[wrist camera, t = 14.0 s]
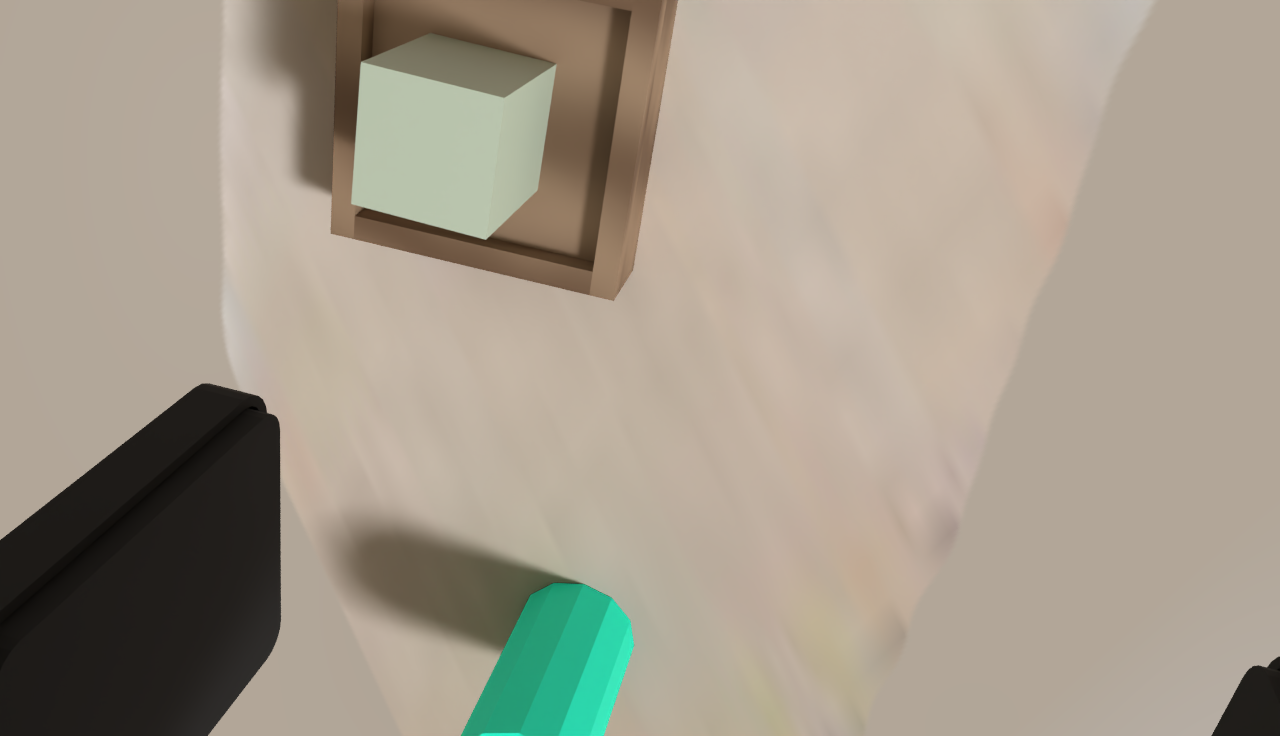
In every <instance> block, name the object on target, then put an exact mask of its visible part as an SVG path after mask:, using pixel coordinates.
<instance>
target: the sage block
mask: <svg viewBox="0 0 1280 736" xmlns="http://www.w3.org/2000/svg"><path fill="white" fill-rule="evenodd" d="M556 65H557V64H555V63H551V62H547V61H543V60H539V59H535V58H531V57H527V56H522V55H518V54H514V53H510V52H506V51H502V50H498V49H494V48H490V47H486V46H482V45H478V44H473V43H469V42H465V41H461V40H457V39H453V38H449V37H445V36H441V35H437V34H433V33H429V34H427V35H424V36H422V37H420V38H417V39H415V40H412V41H410V42H408V43H405V44H403V45H400V46H398V47H396V48H393V49H391V50H388V51H386V52H384V53H381V54H379V55H377V56H374V57H372V58H369V59H367V60H365V61H362V62H361V67H360V82H359V97H358V111H357V126H356V141H355V155H354V170H353V184H352V199H351V204H353V205H357V206H361V207H364V208H368V209H372V210H376V211H379V212H383V213H387V214H391V215H394V216H398V217H402V218H406V219H409V220H413V221H417V222H421V223H425V224H428V225H432V226H436V227H440V228H443V229H447V230H451V231H455V232H458V233H462V234H466V235H470V236H474V237H477V238H481V239H485V240H486V239H487V238H488V237H489V236H490V235H491V234H492V233H494V232H495V231H496V230H497V229H498V228H499V227H500V226H501V225H502V224H503V223H504V222H505V221H506V220H507V219H508V218H509V217H510V216H511V215H512V214H513V213H514V212H515V211H516V210H518V209H519V208H520V207H521V206H522V205H523V204H524V203H525V202H526V201H527V200H528V199H529V198H530V197H531V196H532V195H533V194H534V193H535V192H536V191H537V190H538V184H539V177H540V171H541V164H542V157H543V151H544V144H545V138H546V131H547V124H548V118H549V111H550V105H551V98H552V91H553V85H554V78H555V71H556Z"/></svg>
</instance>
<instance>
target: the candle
mask: <svg viewBox="0 0 1280 736" xmlns="http://www.w3.org/2000/svg"><path fill="white" fill-rule="evenodd" d="M633 647H634V642H633V635H632V629H631V622H630V620H629V618H628V617H627V616H626V615H625V614H624V612H623V611H622V610H621V609H620V607H619V606H618V605H617V604H616V602H615V601H614V600H613V599H612V598H611V597H609V596H607V595H605V594H603V593H601V592H599V591H597V590H595V589H593V588H591V587H589V586H587V585H584V584H568V583H553V584H551V585H549V586H547V587H545V588H543V589H541V590H539V591H537V592H535V593H533V594H531V595H530V597H529V599H528V601H527V603H526V605H525V607H524V609H523V611H522V613H521V615H520V617H519V619H518V621H517V623H516V625H515V627H514V629H513V631H512V633H511V635H510V637H509V639H508V641H507V643H506V645H505V647H504V649H503V652H502V654H501V656H500V658H499V660H498V662H497V664H496V666H495V668H494V670H493V672H492V674H491V676H490V678H489V680H488V682H487V684H486V686H485V688H484V690H483V692H482V694H481V696H480V698H479V700H478V702H477V704H476V706H475V708H474V710H473V712H472V714H471V716H470V718H469V720H468V722H467V724H466V726H465V729H464V731H463V733H462V735H461V736H604V733H605V730H606V727H607V724H608V721H609V718H610V715H611V712H612V709H613V706H614V703H615V700H616V698H617V695H618V692H619V689H620V686H621V683H622V680H623V677H624V674H625V671H626V668H627V665H628V662H629V659H630V656H631V653H632V650H633Z"/></svg>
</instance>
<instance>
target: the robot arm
mask: <svg viewBox="0 0 1280 736" xmlns="http://www.w3.org/2000/svg"><path fill="white" fill-rule="evenodd" d="M280 562H281V560H280V426H279V421H278V419H277V417H276V416H274V415H272V414H268V413H267V410H266V406H265V403H264V401H263V399H261V398H260V397H259V396H256V395H252V394H248V393H244V392H241V391H237V390H233V389H229V388H225V387H221V386H217V385H213V384H201V385H199V386H197V387H195V388H194V389H192V390H191V391H190V392H189V393H187V394H186V395H185V396H183V397H182V398H181V399H180V400H178V401H177V402H176V403H175V404H173V405H172V406H171V407H170V408H168V409H167V410H166V411H164V412H163V413H162V414H161V415H159V416H158V417H157V418H155V419H154V420H153V421H152V422H150V423H149V424H148V425H146V427H144V428H143V429H142V430H140V431H139V432H138V433H136V434H135V435H134V436H133V437H131V438H130V439H129V440H127V441H126V442H125V443H124V444H122V445H121V446H120V447H118V448H117V449H116V450H115V451H114V452H112V453H111V454H110V455H108V456H107V457H106V458H105V459H103V460H102V461H101V462H99V463H98V464H97V465H95V466H94V467H93V468H92V469H91V470H89V471H88V472H87V473H85V474H84V475H83V476H82V477H80V478H79V479H78V480H77V481H75V482H74V483H73V484H71V485H70V486H69V487H67V488H66V489H65V490H64V491H62V492H61V493H60V494H58V495H57V496H56V497H55V498H53V499H52V500H51V501H50V502H48V503H47V504H46V505H45V506H43V507H42V508H41V509H39V510H38V511H37V512H36V513H34V514H33V515H32V516H30V517H29V518H28V519H27V520H25V521H24V522H23V523H22V524H21V525H19V526H18V527H17V528H15V529H14V530H13V531H11V532H10V533H9V534H7V535H6V536H5V537H4V538H2V539H1V540H0V736H208V734H209V733H210V732H211V731H212V729H213V728H214V727H215V725H216V724H217V723H218V721H219V720H220V719H221V717H222V716H223V715H224V714H225V713H226V711H227V710H228V709H229V707H230V706H231V705H232V704H233V702H234V701H235V700H236V698H237V697H238V696H239V694H240V693H241V692H242V690H243V689H244V688H245V687H246V685H247V684H248V683H249V681H250V680H251V679H252V677H253V676H254V675H255V674H256V672H257V671H258V670H259V669H260V667H261V666H262V665H263V663H264V662H265V661H266V660H267V658H268V656H269V655H270V653H271V652H272V649H273V647H274V645H275V643H276V640H277V637H278V634H279V630H280V622H281V576H280V575H281V574H280V573H281V572H280V571H281V569H280V568H281V565H280ZM1212 736H1280V657H1277V658H1276V659H1275V660H1273V661H1272V662H1271V663H1270V664H1269V666H1268V667H1267V668H1266V667H1262V666H1253V667H1252V668H1250V669H1249V670H1248V671H1247V672H1246V674H1245V675H1244V677H1243V678H1242V680H1241V682H1240V684H1239V686H1238V688H1237V690H1236V691H1235V693H1234V695H1233V697H1232V699H1231V701H1230V702H1229V704H1228V707H1227V708H1226V710H1225V712H1224V714H1223V715H1222V717H1221V719H1220V721H1219V723H1218V725H1217V727H1216V728H1215V730H1214V732H1213V734H1212Z"/></svg>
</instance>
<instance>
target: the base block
mask: <svg viewBox="0 0 1280 736" xmlns="http://www.w3.org/2000/svg"><path fill="white" fill-rule="evenodd" d="M677 3H678V0H338V8H337V42H336V76H335V110H334V143H333V177H332V211H331V234H335V235H339V236H344V237H348V238H352V239H356V240H360V241H365V242H369V243H373V244H377V245H381V246H386V247H390V248H394V249H398V250H402V251H407V252H411V253H415V254H419V255H423V256H428V257H432V258H436V259H440V260H444V261H449V262H453V263H457V264H461V265H465V266H470V267H474V268H478V269H482V270H486V271H491V272H495V273H499V274H503V275H507V276H512V277H516V278H520V279H524V280H528V281H533V282H537V283H541V284H545V285H549V286H554V287H558V288H562V289H566V290H570V291H575V292H579V293H583V294H587V295H591V296H596V297H600V298H604V299H608V300H612V301H614V299H615V298H616V296H617V294H618V293H619V291H620V290H621V288H622V287H623V285H624V283H625V282H626V280H627V279H628V277H629V275H630V274H631V272H632V271H633V266H634V260H635V254H636V248H637V242H638V236H639V230H640V224H641V218H642V212H643V206H644V200H645V194H646V188H647V182H648V176H649V170H650V164H651V158H652V152H653V146H654V140H655V134H656V128H657V122H658V116H659V110H660V105H661V99H662V93H663V87H664V81H665V75H666V69H667V63H668V57H669V51H670V45H671V39H672V33H673V27H674V21H675V15H676V9H677ZM429 33H433V34H437V35H441V36H445V37H449V38H453V39H457V40H461V41H465V42H469V43H473V44H478V45H482V46H486V47H490V48H494V49H498V50H502V51H506V52H510V53H514V54H518V55H522V56H527V57H531V58H535V59H539V60H543V61H547V62H551V63H555V64H557V65H556V71H555V78H554V85H553V91H552V98H551V105H550V111H549V118H548V124H547V131H546V138H545V144H544V151H543V157H542V164H541V171H540V177H539V184H538V190H537V191H536V192H535V193H534V194H533V195H532V196H531V197H530V198H529V199H528V200H527V201H526V202H525V203H524V204H523V205H522V206H521V207H520V208H519V209H518V210H516V211H515V212H514V213H513V214H512V215H511V216H510V217H509V218H508V219H507V220H506V221H505V222H504V223H503V224H502V225H501V226H500V227H499V228H498V229H497V230H496V231H495V232H494V233H492V234H491V235H490V236H489V237H488V238H487V239H486V240H485V239H481V238H477V237H474V236H470V235H466V234H462V233H458V232H455V231H451V230H447V229H443V228H440V227H436V226H432V225H428V224H425V223H421V222H417V221H413V220H409V219H406V218H402V217H398V216H394V215H391V214H387V213H383V212H379V211H376V210H372V209H368V208H364V207H361V206H357V205H353V204H351V199H352V184H353V170H354V155H355V141H356V126H357V111H358V97H359V82H360V67H361V62H362V61H365V60H367V59H369V58H372V57H374V56H377V55H379V54H381V53H384V52H386V51H388V50H391V49H393V48H396V47H398V46H400V45H403V44H405V43H408V42H410V41H412V40H415V39H417V38H420V37H422V36H424V35H427V34H429Z"/></svg>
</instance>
